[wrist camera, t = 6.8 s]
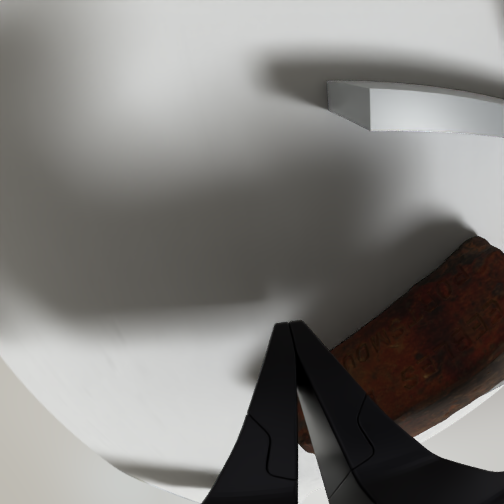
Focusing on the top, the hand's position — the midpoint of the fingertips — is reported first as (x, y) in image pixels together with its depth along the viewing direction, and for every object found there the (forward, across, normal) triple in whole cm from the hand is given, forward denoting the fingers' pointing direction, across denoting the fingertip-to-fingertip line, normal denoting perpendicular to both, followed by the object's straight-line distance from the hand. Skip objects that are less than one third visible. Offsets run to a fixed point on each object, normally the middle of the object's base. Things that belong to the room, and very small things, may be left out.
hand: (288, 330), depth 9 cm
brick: (+2, -5, +3) cm, 6 cm away
